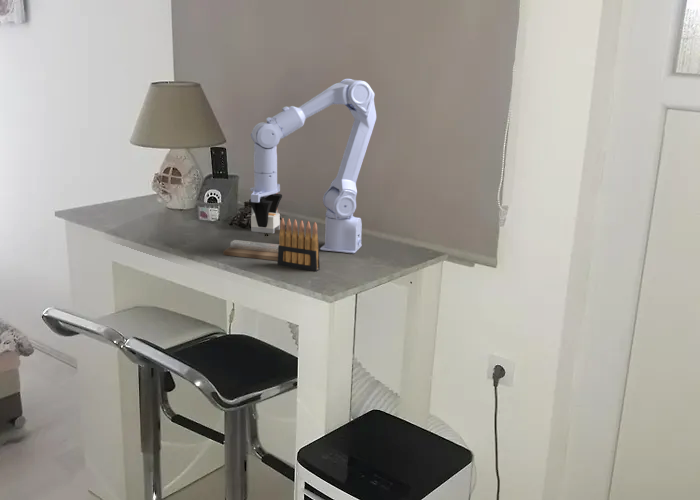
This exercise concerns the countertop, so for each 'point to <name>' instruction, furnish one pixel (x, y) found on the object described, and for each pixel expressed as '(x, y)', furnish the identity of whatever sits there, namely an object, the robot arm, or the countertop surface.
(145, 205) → the countertop surface
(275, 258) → the board
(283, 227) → the ammunition clip
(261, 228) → the block
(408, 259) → the countertop surface
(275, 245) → the rail
